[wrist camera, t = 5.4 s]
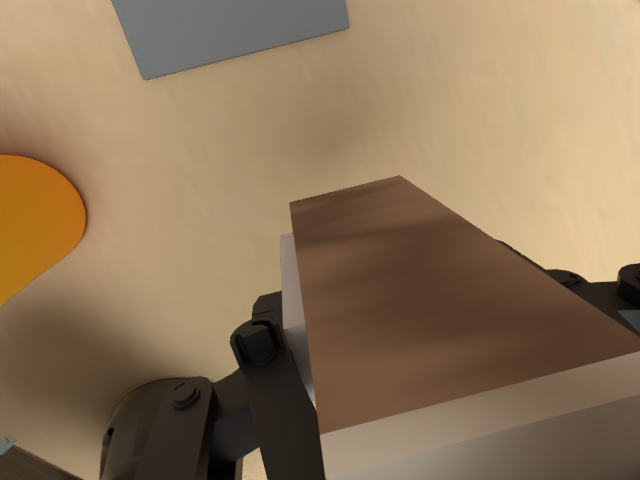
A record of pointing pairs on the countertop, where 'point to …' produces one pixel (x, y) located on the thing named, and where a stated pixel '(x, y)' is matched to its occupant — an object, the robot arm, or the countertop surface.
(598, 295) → the robot arm
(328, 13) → the mat
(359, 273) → the block
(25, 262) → the beer bottle
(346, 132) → the countertop surface
